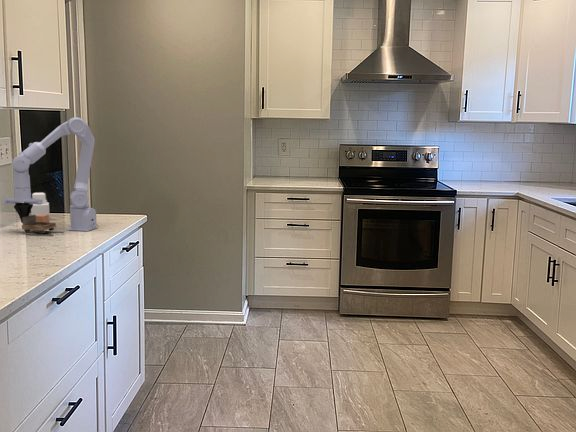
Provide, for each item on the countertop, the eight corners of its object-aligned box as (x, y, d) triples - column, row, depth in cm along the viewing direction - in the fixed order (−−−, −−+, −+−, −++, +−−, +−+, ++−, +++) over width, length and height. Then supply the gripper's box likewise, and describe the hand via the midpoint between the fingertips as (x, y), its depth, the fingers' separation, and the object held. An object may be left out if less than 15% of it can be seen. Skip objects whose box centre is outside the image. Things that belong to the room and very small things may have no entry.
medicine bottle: (32, 218, 251) (30, 191, 249) (49, 218, 254) (48, 191, 252) (31, 221, 245) (29, 193, 243) (49, 220, 247) (47, 193, 245)
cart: (56, 230, 223) (55, 215, 222) (43, 234, 215) (42, 219, 215) (35, 229, 225) (34, 214, 224) (22, 232, 217) (21, 217, 216)
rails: (63, 232, 222) (63, 231, 222) (52, 236, 215) (52, 235, 215) (33, 230, 225) (33, 229, 225) (22, 234, 218) (21, 233, 218)
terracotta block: (49, 226, 234) (48, 214, 233) (42, 228, 230) (42, 216, 229) (40, 226, 235) (39, 214, 234) (33, 228, 231) (32, 215, 230)
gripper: (45, 186, 222) (47, 221, 224) (10, 185, 223) (12, 220, 226) (36, 189, 215) (38, 224, 217) (-1, 188, 217) (2, 223, 219)
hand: (24, 222), depth 221 cm, fingers closed
